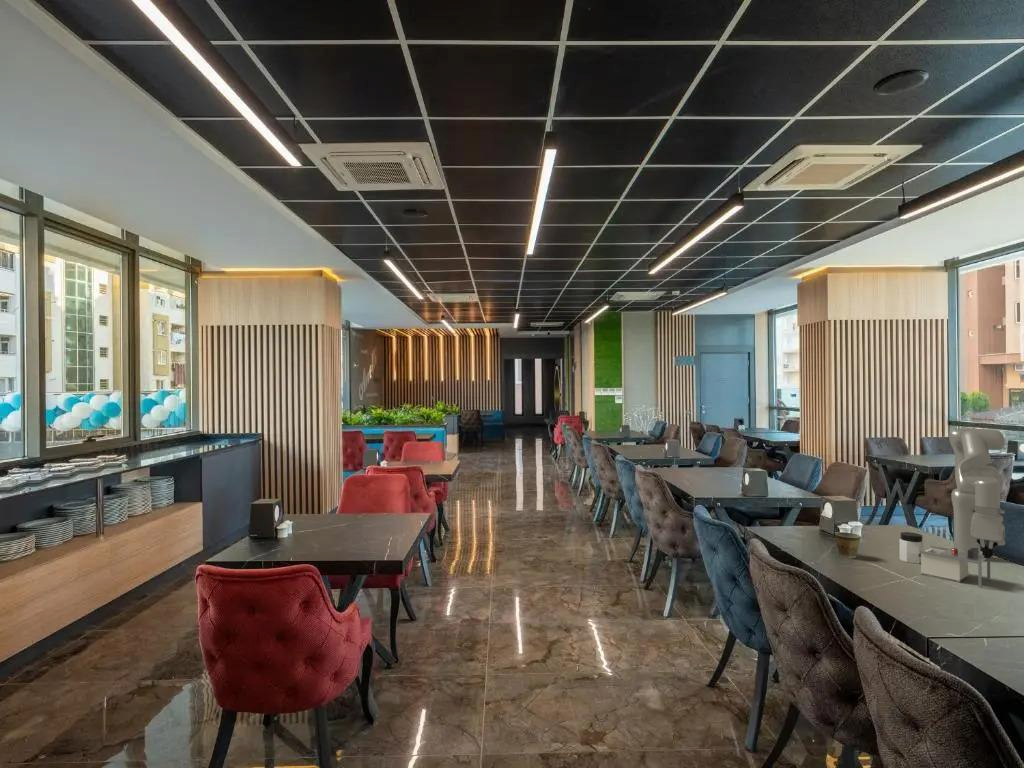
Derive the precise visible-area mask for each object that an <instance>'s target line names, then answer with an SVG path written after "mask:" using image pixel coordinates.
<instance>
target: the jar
mask: <svg viewBox="0 0 1024 768" xmlns="http://www.w3.org/2000/svg"><path fill="white" fill-rule="evenodd" d="M920 551H924V541H923V535H922V534H920V533H916V532H909V531H902V532H900V538H899V561H903V562H905V563H908V562H909V563H908V564H917V565H920V564H921V557H918V554H919V553H920Z"/></svg>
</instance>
